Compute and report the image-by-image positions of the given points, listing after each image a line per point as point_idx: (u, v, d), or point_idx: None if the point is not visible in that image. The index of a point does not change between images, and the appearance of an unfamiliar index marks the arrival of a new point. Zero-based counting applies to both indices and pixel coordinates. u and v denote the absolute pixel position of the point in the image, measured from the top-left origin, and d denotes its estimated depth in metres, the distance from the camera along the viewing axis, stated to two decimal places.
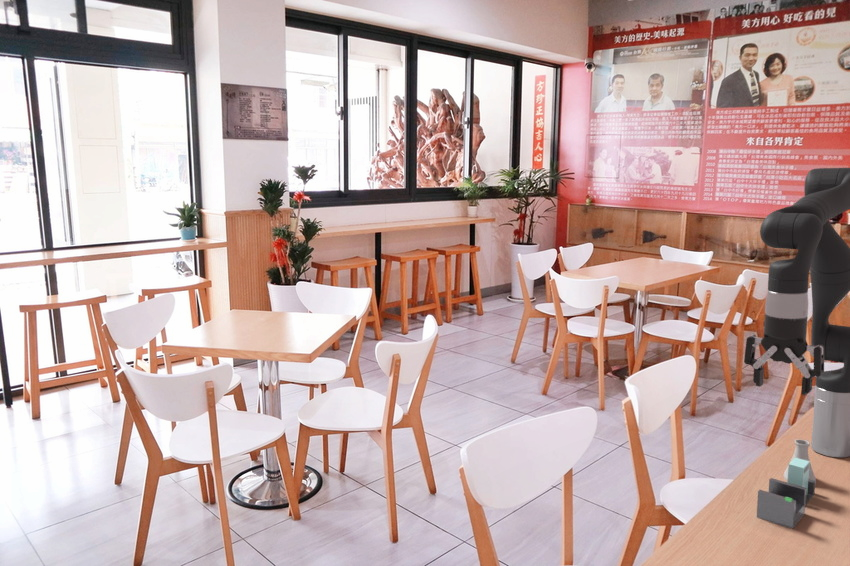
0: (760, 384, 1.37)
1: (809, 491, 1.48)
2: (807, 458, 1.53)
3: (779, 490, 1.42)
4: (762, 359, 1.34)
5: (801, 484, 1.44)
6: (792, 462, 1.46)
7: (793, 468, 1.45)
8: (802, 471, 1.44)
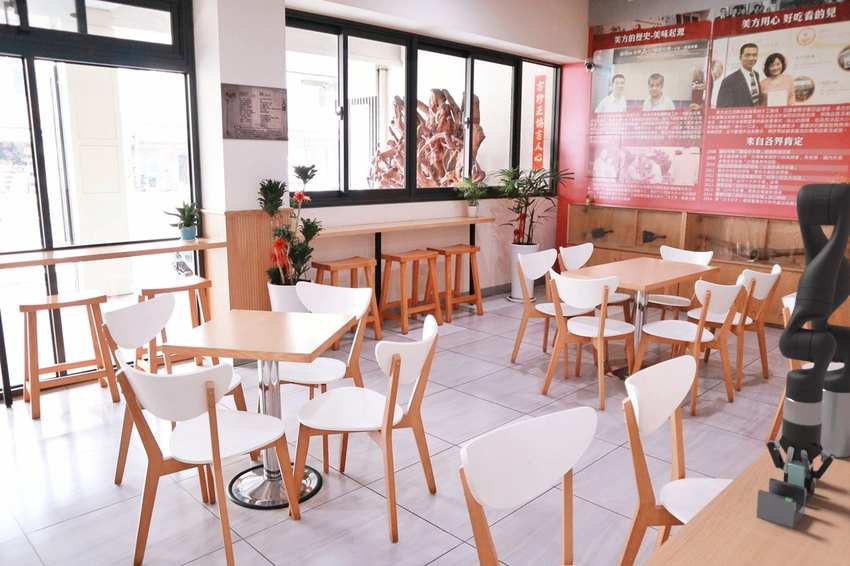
0: None
1: None
2: None
3: (779, 490, 1.42)
4: (787, 462, 1.46)
5: (801, 484, 1.44)
6: (792, 462, 1.46)
7: (793, 468, 1.45)
8: (802, 471, 1.44)
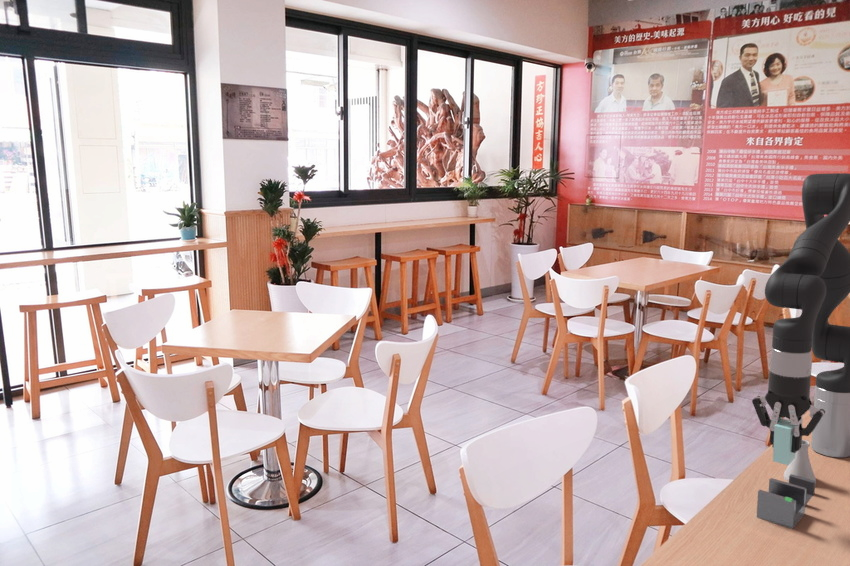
0: None
1: (809, 491, 1.48)
2: (807, 458, 1.53)
3: (779, 490, 1.42)
4: (774, 419, 1.36)
5: (788, 446, 1.34)
6: (778, 423, 1.36)
7: (779, 430, 1.35)
8: (789, 432, 1.34)
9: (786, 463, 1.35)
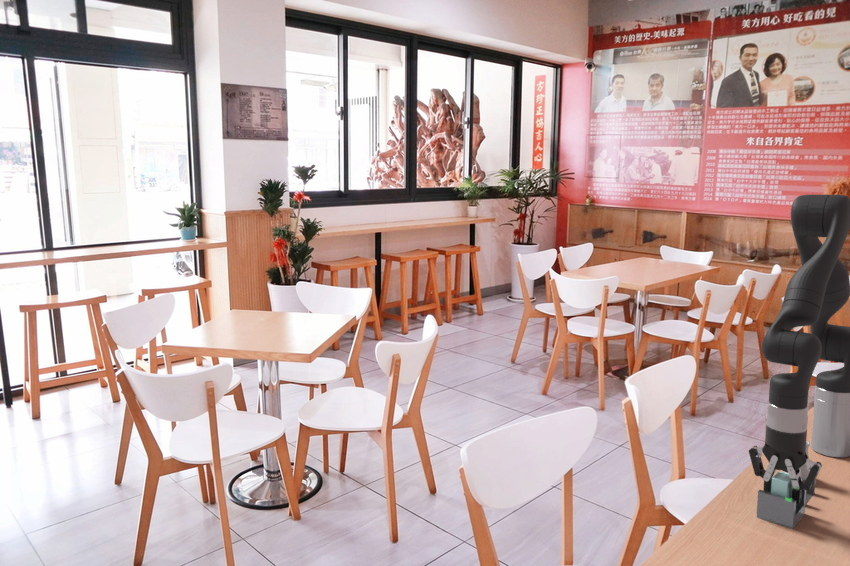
0: None
1: (809, 491, 1.48)
2: None
3: None
4: (769, 471, 1.39)
5: None
6: (776, 476, 1.38)
7: (776, 482, 1.37)
8: (786, 486, 1.36)
9: None
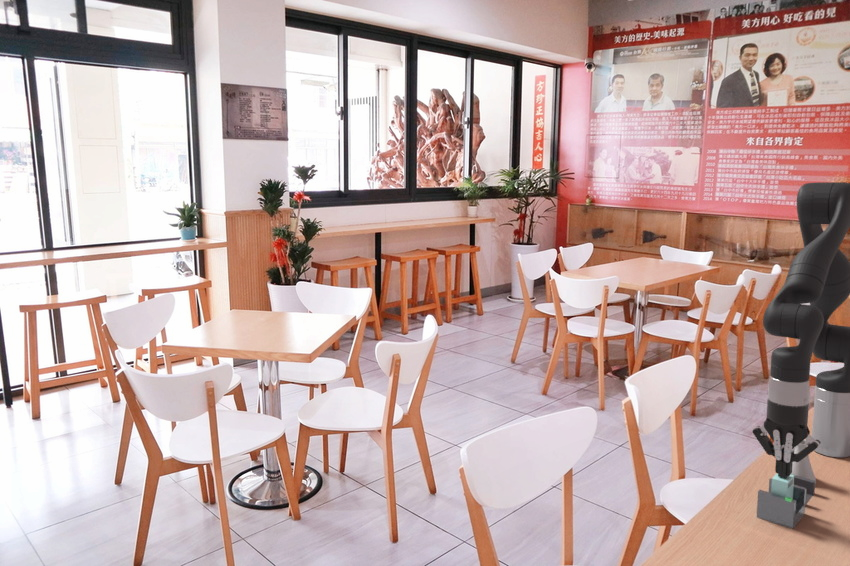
0: None
1: (809, 491, 1.48)
2: (807, 458, 1.53)
3: None
4: (776, 448, 1.37)
5: None
6: (775, 476, 1.38)
7: (776, 483, 1.37)
8: (786, 486, 1.36)
9: None
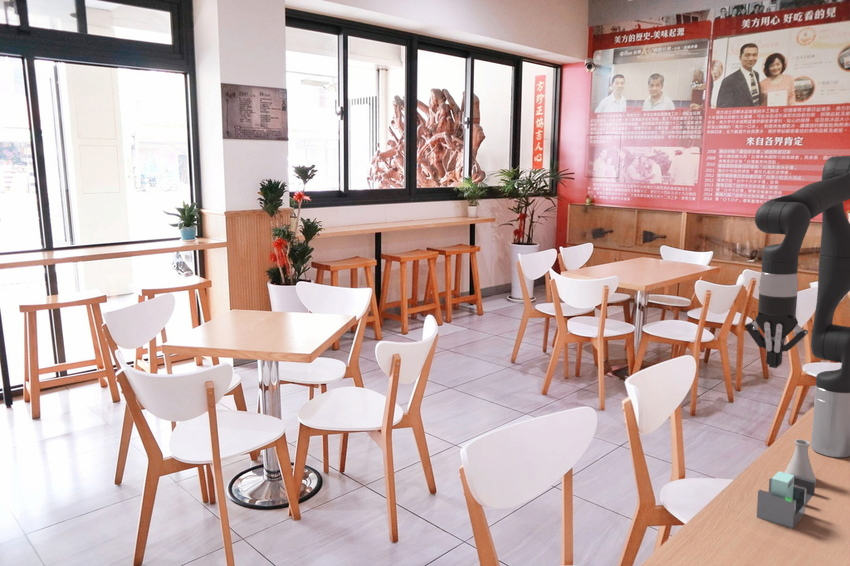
0: None
1: (809, 491, 1.48)
2: (807, 458, 1.53)
3: None
4: (767, 339, 1.47)
5: None
6: (775, 476, 1.38)
7: (776, 483, 1.37)
8: (786, 486, 1.36)
9: None
